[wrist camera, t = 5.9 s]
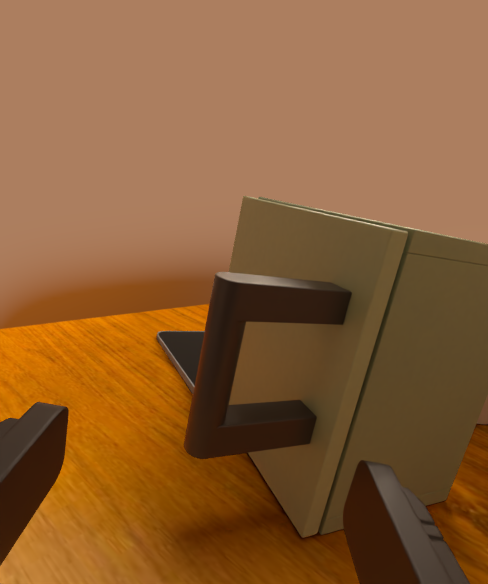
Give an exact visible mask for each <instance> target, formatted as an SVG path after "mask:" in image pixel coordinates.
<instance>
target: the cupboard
mask: <svg viewBox="0 0 488 584" xmlns="http://www.w3.org/2000/svg"><path fill="white" fill-rule="evenodd" d="M258 199H261V200H266V201H270V202H275V203H279V204H284V205H288V206H293V207H298V208H302V209H307V210H311V211H316V212H320V213H325V214H329V215H334V216H338V217H343V218H347V219H352V220H356V221H361V222H366V223H370V224H375V225H379V226H384V227H388V228H393V229H397V230H402V231H406V232H408V236H407V240H406V243H405V246H404V250H403V253H402V256H401V259H400V263H399V266H398V269H397V273H396V276H395V279H394V282H393V286H392V289H391V292H390V296H389V299H388V302H387V306H386V309H385V312H384V315H383V319H382V322H381V325H380V329H379V332H378V335H377V338H376V342H375V345H374V348H373V352H372V355H371V358H370V361H369V365H368V368H367V371H366V375H365V378H364V381H363V384H362V388H361V391H360V394H359V398H358V401H357V404H356V407H355V411H354V414H353V417H352V421H351V424H350V427H349V430H348V434H347V437H346V440H345V444H344V447H343V450H342V453H341V457H340V460H339V463H338V467H337V470H336V473H335V476H334V480H333V483H332V486H331V490H330V493H329V496H328V499H327V503H326V506H325V509H324V513H323V516H322V519H321V522H320V526H319V529H318V531H319V533H320V534H321V535H323V534H327V533H330V532H334V531H338V530H341V529H344V527H343V510H344V505H345V502H346V498H347V495H348V492H349V489H350V486H351V483H352V480H353V477H354V474H355V470H356V467H357V465H358V463H359V462H360V461H361V460H365V461H370V462H376V463H382V464H387V465H390V466H391V467H392V469H393V471H394V473H395V474H396V476H397V478H398V480H399V482H400V484H401V486H402V487H405V488H409V489H410V490H411V491H412V492H413V493H414V494H415V495H416V497H417V498H418V499H419V500H420V501H421V502H422V503H423V504H424V505H425V506H427V505H431V504H434V503H438V502H441V501H445V500H446V499H447V496H448V494H449V491H450V489H451V488H450V487H451V486H452V484H453V481H454V479H455V476H456V474H457V471H458V469H459V466H460V464H461V461H462V459H463V456H464V454H465V451H466V449H467V446H468V444H469V441H470V438H471V436H472V433H473V431H474V428H475V426H476V423H477V421H478V418H479V416H480V413H481V411H482V408H483V406H484V403H485V401H486V398H487V396H488V244H485V243H480V242H475V241H470V240H466V239H461V238H456V237H451V236H447V235H442V234H437V233H432V232H427V231H422V230H418V229H413V228H408V227H403V226H399V225H394V224H389V223H384V222H379V221H374V220H369V219H365V218H360V217H355V216H350V215H345V214H341V213H335V212H331V211H326V210H321V209H316V208H311V207H306V206H302V205H296V204H291V203H287V202H281V201H277V200H272V199H267V198H262V197H259V198H258Z"/></svg>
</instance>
